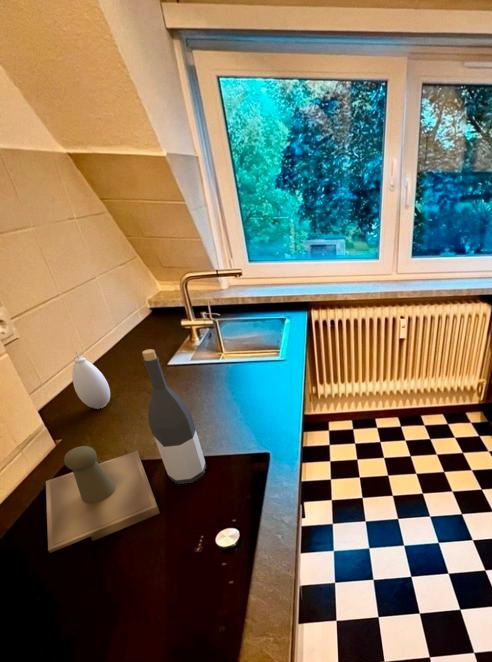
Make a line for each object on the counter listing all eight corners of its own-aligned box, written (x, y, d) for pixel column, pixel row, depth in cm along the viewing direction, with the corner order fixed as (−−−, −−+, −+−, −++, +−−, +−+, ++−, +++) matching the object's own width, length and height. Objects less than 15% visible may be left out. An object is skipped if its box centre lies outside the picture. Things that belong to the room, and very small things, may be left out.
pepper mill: (115, 479, 83) (96, 438, 77) (114, 497, 79) (94, 455, 73) (83, 488, 81) (60, 446, 75) (80, 507, 76) (55, 464, 70)
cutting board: (53, 557, 69) (47, 550, 68) (49, 487, 84) (45, 480, 83) (160, 513, 78) (157, 506, 77) (139, 457, 93) (137, 450, 92)
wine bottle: (211, 477, 87) (175, 353, 70) (173, 490, 83) (126, 364, 67) (202, 458, 92) (167, 339, 76) (166, 469, 89) (121, 348, 73)
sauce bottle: (80, 407, 112) (53, 350, 102) (109, 397, 117) (86, 341, 107) (91, 417, 108) (63, 358, 98) (120, 406, 113) (97, 348, 103)
